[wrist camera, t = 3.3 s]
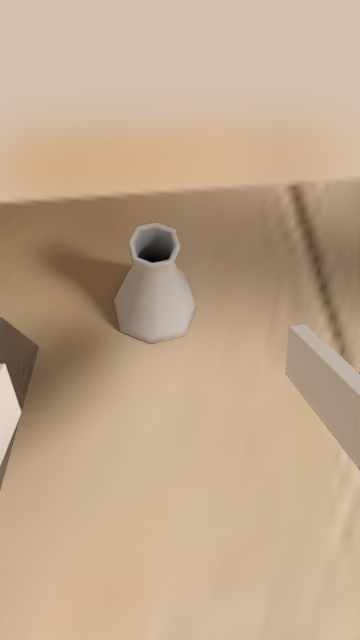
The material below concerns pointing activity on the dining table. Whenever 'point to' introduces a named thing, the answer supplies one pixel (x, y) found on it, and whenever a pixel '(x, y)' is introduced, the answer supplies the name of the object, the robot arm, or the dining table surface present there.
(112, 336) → the dining table surface
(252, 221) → the dining table surface
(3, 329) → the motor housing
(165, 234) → the flask
